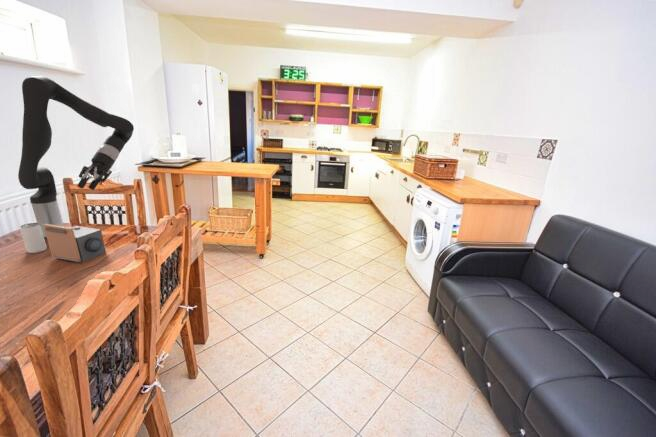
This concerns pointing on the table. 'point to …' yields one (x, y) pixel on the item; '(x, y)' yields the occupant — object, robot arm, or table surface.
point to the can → (33, 238)
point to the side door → (62, 242)
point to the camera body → (89, 242)
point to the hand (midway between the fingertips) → (85, 188)
